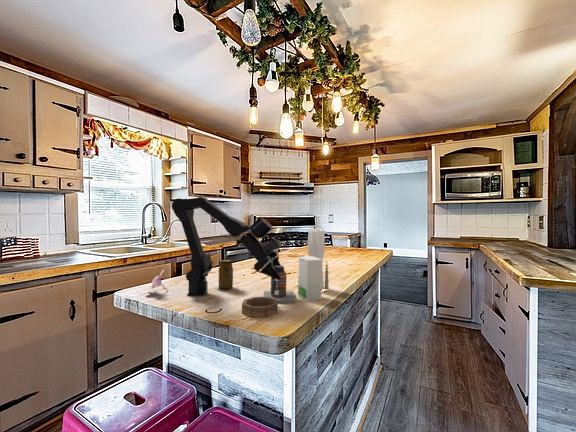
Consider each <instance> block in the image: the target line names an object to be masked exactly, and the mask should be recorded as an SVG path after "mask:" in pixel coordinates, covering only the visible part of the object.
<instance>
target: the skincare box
mask: <svg viewBox="0 0 576 432" xmlns="http://www.w3.org/2000/svg"><path fill="white" fill-rule="evenodd" d="M323 261H324V259H323V260H321V259H319V258H317V257H314V256H308V255H307V256H299V258H298V280H297V296H298V297H300V298H302V299H303V300H305V302H312V300H313V301H319V300H318V299H321V300H322V293H321V285H322V269H323Z"/></svg>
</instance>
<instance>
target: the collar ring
mask: <svg viewBox="0 0 576 432" xmlns="http://www.w3.org/2000/svg"><path fill="white" fill-rule="evenodd" d="M278 305H279V303H278V300H277V299H274V298H271V297H263V296H253V297H250V298H249V297H248V298H245V299H243V301H242V303H241V313H242V315H244V316H247V317H250V318H270V317H271V316H274V315H277V314H278V312H279V308H278V307H279V306H278Z"/></svg>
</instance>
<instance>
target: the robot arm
mask: <svg viewBox="0 0 576 432" xmlns="http://www.w3.org/2000/svg"><path fill="white" fill-rule="evenodd" d="M171 209H172V211H173V213H174V215H175V216H176V218H177V219H178V220H179V221H180V222H181V227H182V229H183V233H184V235H185V238H186V241H187V244H188V248H189V251H190V254H191V257H190V268H191V269H190V270H189V271H188V272H187V273H185V278H186V280H187V281H188V293H187V294H186V296H205V294H207V293H208V290H209V289H208V286H209V285H208V284H209V283H208V280H207V277H208V275H209V274H210V272H211V271H212V268H213V264H214V262H213V260H212V257H211V254H210V253H208V254H207V253H205V251H204V249H203V245H202V242H201V240H200V237H199V232H198V230H197V226H196V223H195V220H194V214H195V210H196V209H201V210H203V211H204V212H205V213H207V214H208V215H210V216H211V217H212V218H213V219H215V220H216V221H217V222H219V224H221V225H222V227H223V228H224V230H225V231H226V232H227V233H228V234H229V235H230V236H232V237H233V238H236V237H237V238H238V237H240V236H241V237H240V238H238V239H236V240H235V242H236V243H235V246H236V247H240V246H241V245H242V246H243V247H244V249H245V250H247V251H248V253H250V254H249V256H250V257H253V258H254V259H255V260H256V261H257V262H256V263H254V264H253V269H254V271H255V272H257V273H259V274H263V275H266V276H268V277H270V278H271V277H273V278H275V279H277V280H279V279H280V278H281V277H280V276H279V274H278V273H277V271H276V270H275V269H274V266H282V265H281V263H280V261H279V259H280V258H279V257H280V255H279V254H280V253H279V252H278V251H277V250H279V249H280V248H282V244H281V241H280V240H279V239H276V238H273V239H271V240H270V242H269V243H267V244H265V243H264V242H261V241H259V239H264V238H265V237H266V236H267V235H268V233H270V232H271V231H272V230H273V226H272V225H271V223H270V222H269V221H267V220H266V219H265V218H263V217H262V216H259V217H258V218H257V219H256V220H255V221H254V223H253V224H251V225H249V224H246V223H245V222H243V221H241V220H240V219H237V218H235V217H232V216H230V215H228V214H227V213H226V212H225V211H223V210H222V209H221V208H219V206H217V205H215V204H214V203H213V202H211V201H210V200H209V199H208V198H207V197H203V196H197V197H193V198H175V199H174V200H173V201H172V203H171ZM246 233H248V234H246Z"/></svg>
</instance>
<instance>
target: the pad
mask: <svg viewBox="0 0 576 432" xmlns="http://www.w3.org/2000/svg"><path fill="white" fill-rule="evenodd" d="M262 297H271V298H274V299H277V300H278V304H296V297H295V291H289V290H288V291H287V290H286V295H285V296H284V297H273V296H271V290H270V291H265V290H264V291H263V295H262Z"/></svg>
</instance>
